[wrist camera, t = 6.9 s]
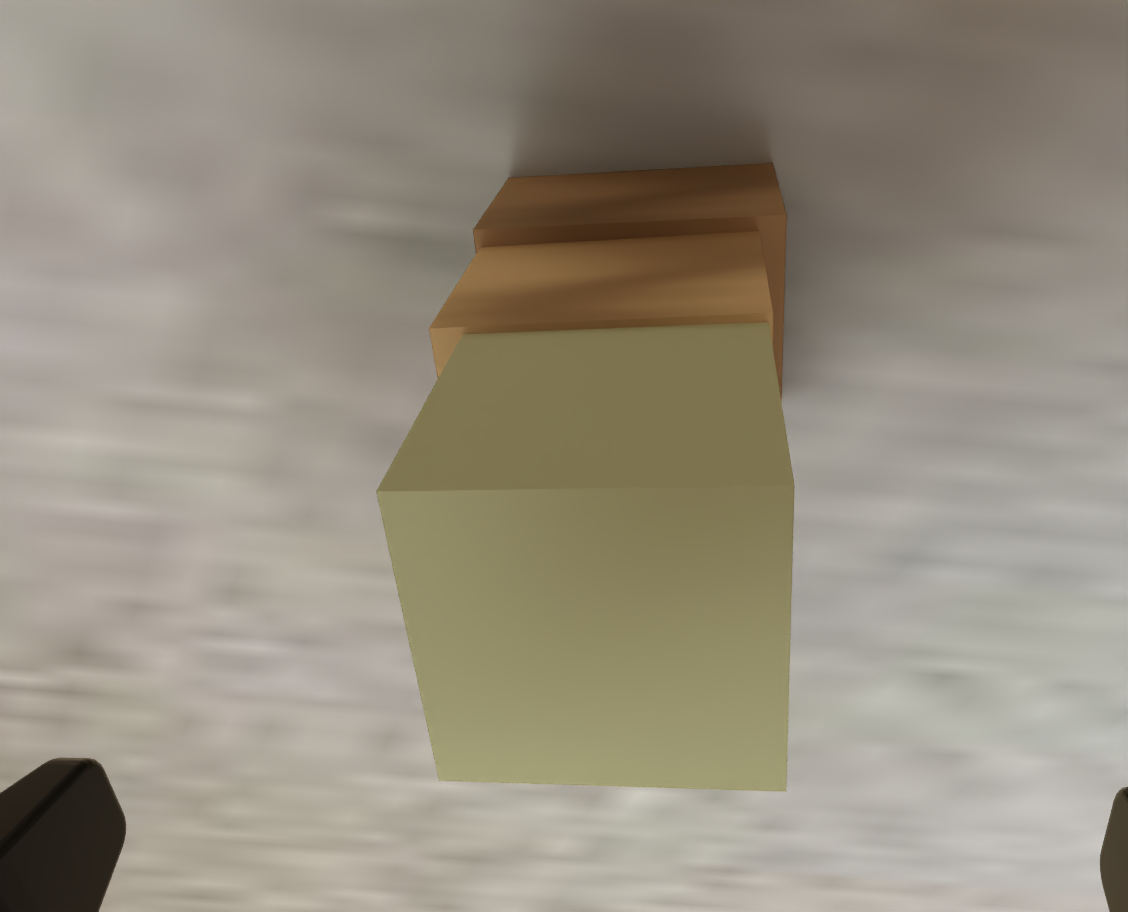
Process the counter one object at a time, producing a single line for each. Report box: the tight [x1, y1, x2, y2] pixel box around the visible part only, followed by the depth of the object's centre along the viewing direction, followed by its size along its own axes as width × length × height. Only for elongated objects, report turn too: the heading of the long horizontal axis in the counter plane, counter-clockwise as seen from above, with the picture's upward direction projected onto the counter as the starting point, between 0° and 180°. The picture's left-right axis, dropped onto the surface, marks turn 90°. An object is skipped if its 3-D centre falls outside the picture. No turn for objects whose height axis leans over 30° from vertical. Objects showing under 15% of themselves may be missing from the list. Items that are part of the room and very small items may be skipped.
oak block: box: [429, 231, 773, 378], centre depth 15 cm, size 4×4×4 cm
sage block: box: [376, 322, 794, 792], centre depth 12 cm, size 4×4×4 cm
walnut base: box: [473, 163, 787, 398], centre depth 18 cm, size 5×5×4 cm
